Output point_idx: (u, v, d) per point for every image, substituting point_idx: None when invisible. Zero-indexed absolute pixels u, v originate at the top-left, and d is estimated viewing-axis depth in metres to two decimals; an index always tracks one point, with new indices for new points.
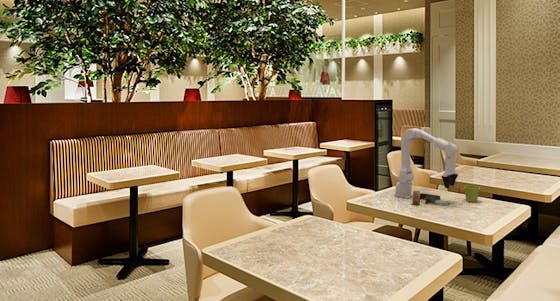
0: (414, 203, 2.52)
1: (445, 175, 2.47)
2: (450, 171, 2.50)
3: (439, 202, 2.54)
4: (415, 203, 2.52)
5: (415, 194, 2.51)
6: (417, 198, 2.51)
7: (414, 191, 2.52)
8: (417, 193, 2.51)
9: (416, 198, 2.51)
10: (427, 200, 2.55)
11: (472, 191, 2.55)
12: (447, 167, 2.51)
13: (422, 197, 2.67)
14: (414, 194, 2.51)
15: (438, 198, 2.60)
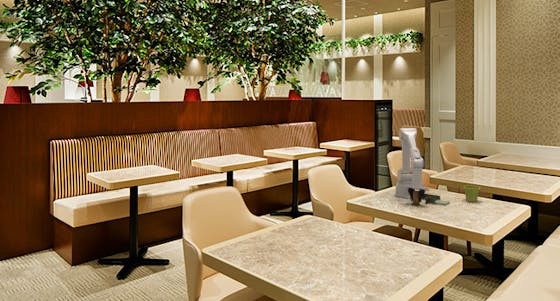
0: (414, 203, 2.52)
1: None
2: (411, 184, 2.53)
3: (439, 202, 2.54)
4: (415, 203, 2.52)
5: (415, 194, 2.51)
6: (417, 198, 2.51)
7: (414, 191, 2.52)
8: (417, 193, 2.51)
9: (416, 198, 2.51)
10: (427, 200, 2.55)
11: (472, 191, 2.55)
12: None
13: (422, 197, 2.67)
14: (414, 194, 2.51)
15: (438, 198, 2.60)
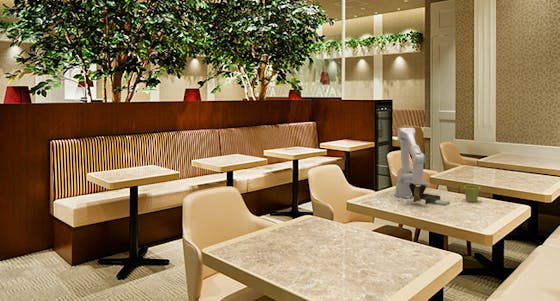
0: (415, 199, 2.53)
1: None
2: (412, 180, 2.53)
3: (439, 202, 2.54)
4: (416, 199, 2.52)
5: (416, 190, 2.52)
6: (418, 194, 2.52)
7: (415, 187, 2.53)
8: (418, 189, 2.51)
9: (417, 194, 2.52)
10: (427, 200, 2.55)
11: (472, 191, 2.55)
12: None
13: (422, 197, 2.67)
14: (415, 190, 2.52)
15: (438, 198, 2.60)
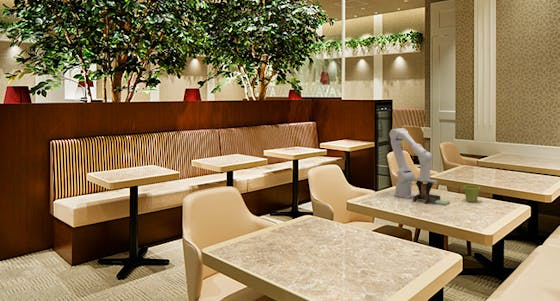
0: (422, 195, 2.60)
1: None
2: None
3: (439, 202, 2.54)
4: (423, 195, 2.60)
5: (423, 187, 2.59)
6: (425, 191, 2.59)
7: (422, 184, 2.60)
8: (425, 186, 2.59)
9: (424, 191, 2.59)
10: (427, 200, 2.55)
11: (472, 191, 2.55)
12: None
13: None
14: (422, 187, 2.59)
15: (438, 198, 2.60)
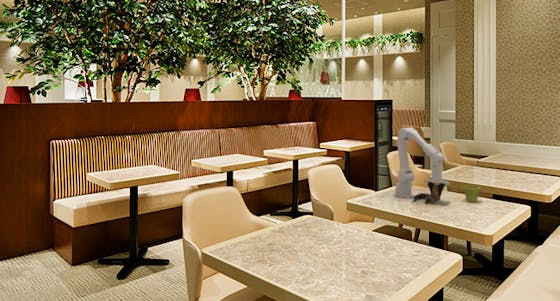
0: (434, 197, 2.56)
1: None
2: (431, 179, 2.57)
3: (439, 202, 2.54)
4: (435, 197, 2.56)
5: (435, 188, 2.55)
6: (437, 192, 2.55)
7: (434, 185, 2.56)
8: (437, 187, 2.55)
9: (436, 192, 2.55)
10: (427, 200, 2.55)
11: (472, 191, 2.55)
12: None
13: (422, 197, 2.67)
14: (434, 188, 2.55)
15: None
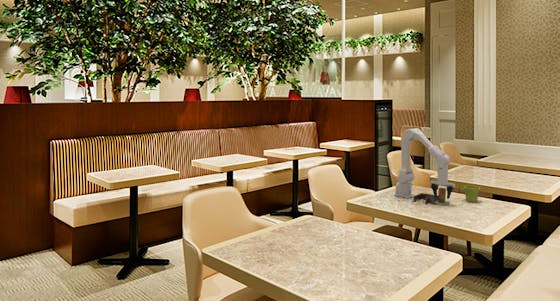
0: (440, 200, 2.54)
1: None
2: (437, 181, 2.54)
3: (439, 202, 2.54)
4: (441, 200, 2.53)
5: (441, 191, 2.53)
6: (443, 195, 2.53)
7: (440, 188, 2.54)
8: (443, 190, 2.52)
9: (442, 196, 2.53)
10: (427, 200, 2.55)
11: (472, 191, 2.55)
12: None
13: (422, 197, 2.67)
14: (440, 191, 2.53)
15: None
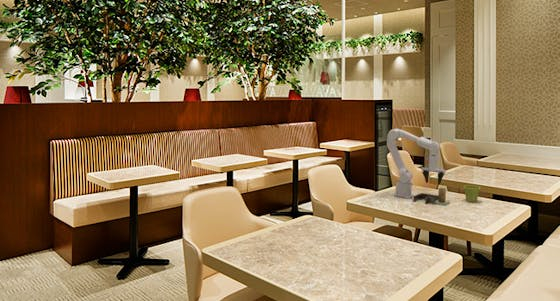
0: (440, 200, 2.54)
1: None
2: None
3: (439, 202, 2.54)
4: (441, 200, 2.53)
5: (441, 191, 2.53)
6: (443, 195, 2.53)
7: (440, 188, 2.54)
8: (443, 190, 2.52)
9: (442, 196, 2.53)
10: (427, 200, 2.55)
11: (472, 191, 2.55)
12: None
13: (422, 197, 2.67)
14: (440, 191, 2.53)
15: None
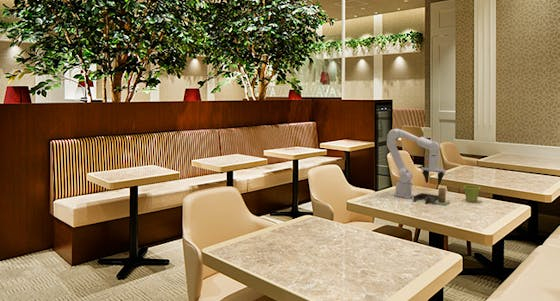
0: (440, 200, 2.54)
1: None
2: None
3: (439, 202, 2.54)
4: (441, 200, 2.53)
5: (441, 191, 2.53)
6: (443, 195, 2.53)
7: (440, 188, 2.54)
8: (443, 190, 2.52)
9: (442, 195, 2.53)
10: (427, 200, 2.55)
11: (472, 191, 2.55)
12: None
13: (422, 197, 2.67)
14: (440, 191, 2.53)
15: None
